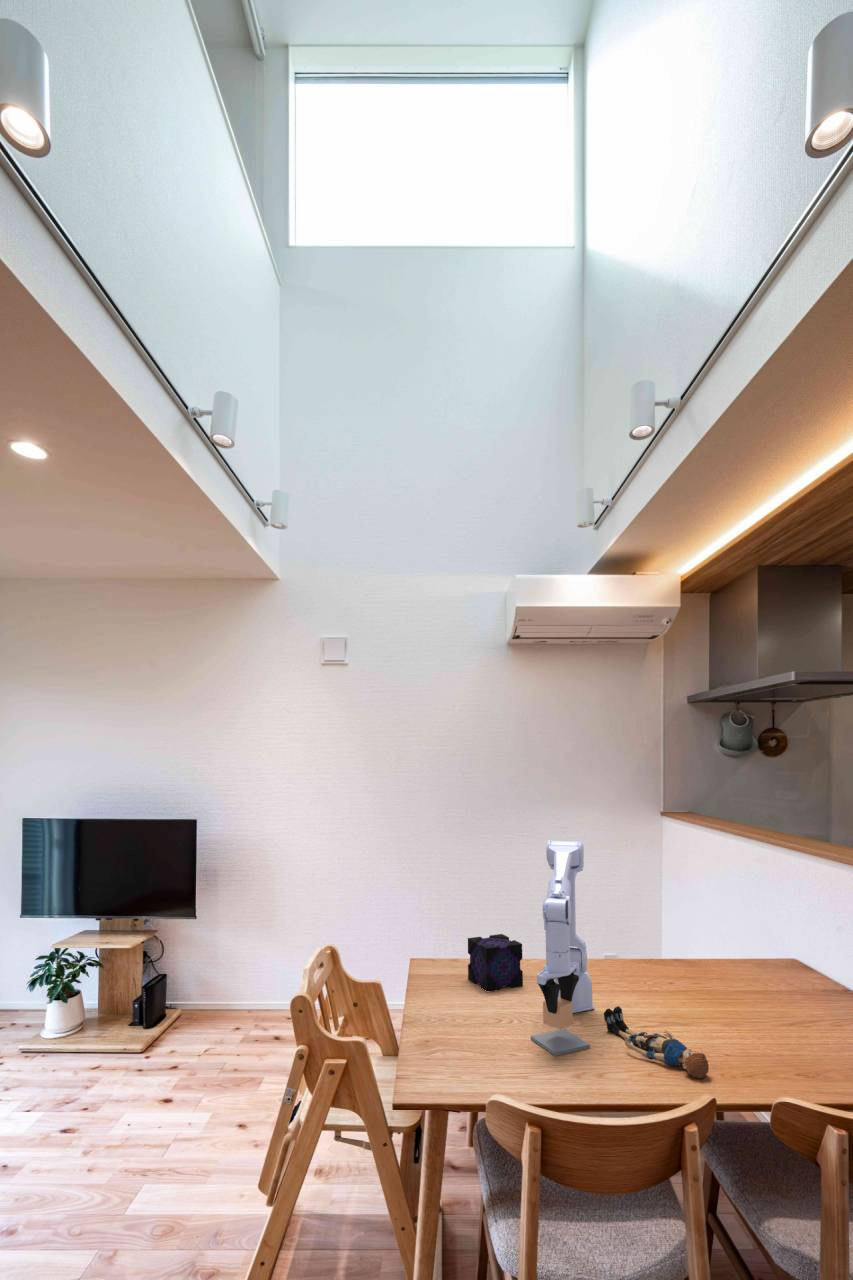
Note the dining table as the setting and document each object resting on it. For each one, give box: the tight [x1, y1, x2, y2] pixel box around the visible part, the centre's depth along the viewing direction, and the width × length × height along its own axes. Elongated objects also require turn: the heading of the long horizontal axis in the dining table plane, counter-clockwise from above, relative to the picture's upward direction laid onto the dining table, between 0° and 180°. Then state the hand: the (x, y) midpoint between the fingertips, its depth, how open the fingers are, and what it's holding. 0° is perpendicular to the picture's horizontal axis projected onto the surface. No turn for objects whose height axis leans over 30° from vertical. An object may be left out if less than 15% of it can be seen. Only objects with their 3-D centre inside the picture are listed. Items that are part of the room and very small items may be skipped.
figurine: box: [603, 1005, 710, 1080], centre depth 165 cm, size 13×6×30 cm
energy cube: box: [467, 933, 524, 992], centre depth 213 cm, size 12×12×12 cm
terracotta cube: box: [542, 997, 574, 1030], centre depth 171 cm, size 5×5×5 cm
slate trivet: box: [530, 1028, 591, 1057], centre depth 170 cm, size 10×10×1 cm
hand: (559, 1009), depth 171 cm, fingers closed on terracotta cube, 5 cm apart
